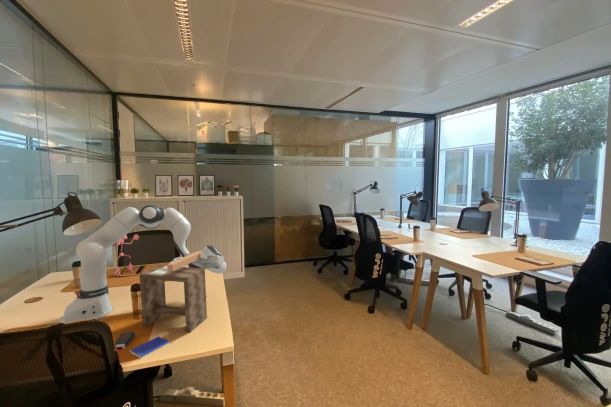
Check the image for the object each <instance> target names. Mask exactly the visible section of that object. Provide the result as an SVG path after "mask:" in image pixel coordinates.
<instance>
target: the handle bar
mask: <svg viewBox="0 0 611 407" xmlns="http://www.w3.org/2000/svg"><path fill="white" fill-rule="evenodd" d="M199 254H203V252H202V251H201V250H199V251H198V250H197V251H195V252H193V254H192V253H190V255H188V256H186V257H183V258H181V259H177V260H176V261H174V262H172V261H171V262H172V263H167V265H166V266H167V271H175V270H177V269H179V268H181V267H183V266H185V267H186V266H188V265H187V264H189V263H191V262H194V261H196V260H198V259H200V258H199V257H198V256H199Z"/></svg>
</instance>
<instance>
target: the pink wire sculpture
mask: <svg viewBox="0 0 611 407" xmlns="http://www.w3.org/2000/svg"><path fill="white" fill-rule="evenodd" d="M139 239H140V236H139V235H138V234H134V235H133V238H132V240H131V241H130V242H125V240H128V235H127V234H126V235H125V236H124V237H123V238H122V239H120V240H119V241H118V242H116V243H114V244H113V245H114V247H116V246H120V245H121V248H120V252H119V256H118V257H117V259H116V260H115V262H116V263H118V260H119V258H120V257H123V256H126V257H129V258H131V256H130V255H127V254H124V252H123V244H126V245H131V244H132V243H133V241H134V240H136V241H138V240H139ZM133 267H134V265H133V264H132V263H129V265H127V268H126V269H127V270H128V271H130V270H131V271H130V272H132V273H134V271H133ZM116 274H118V275H119V277H122V275H121V272H120V267H118V266H116V269H115V271H113V276H115V275H116Z"/></svg>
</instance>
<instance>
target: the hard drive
mask: <svg viewBox="0 0 611 407" xmlns="http://www.w3.org/2000/svg"><path fill="white" fill-rule="evenodd" d="M168 344H170V341H169V340H167V339H165V338H163V337H160V336H156V337H154V338H152V339H150V340H149V341H146V342H144V343H142V344H140V345H138V346H136V347H134V348H132V349H130V350H129V353H130V352H131V354H132V355H134V356H135V355H136V357H137V356H138V358H139V359H143V358H145V357H146V356H148V355H150V354H152V353H154V352H155V350H156V351H157V349H158V350H160V349H161V348H163V347H165V346H167V345H168ZM159 348H160V349H159Z"/></svg>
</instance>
